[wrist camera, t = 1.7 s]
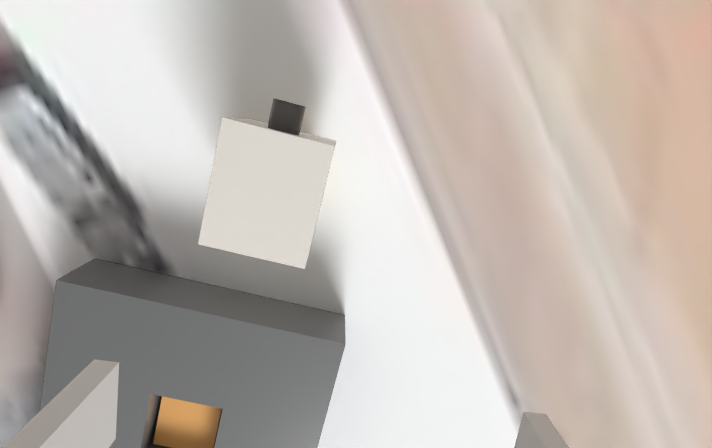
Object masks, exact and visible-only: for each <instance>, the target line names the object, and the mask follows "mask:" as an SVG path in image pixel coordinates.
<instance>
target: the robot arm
mask: <svg viewBox="0 0 712 448" xmlns="http://www.w3.org/2000/svg"><path fill="white" fill-rule="evenodd" d="M118 378H119V362H112V361H104V360H96V359H94V360H93V361H92V362H91V363H90V364H89V365H88V366H87V367H86V368H85V369H84V370H83V371H82V372H81V373H79V374H78V375H77V376H76V377H75V378H74V379H73V380H72V381H71V382H70V383H69V384H68V385H67V386H66V387H65V388H64V389H63V390H62V391H61V392H60V393H59V394H58V395H56V396H55V397H54V398H53V399H52V400H51V401H50V402H49V403H48V404H47V405H46V406H45V407H44V408H43V409H42V410H41V411H40V412H39V413H38V414H37V415H36V416H34V417H33V418H32V419H31V420H30V421H29V422H28V423H27V424H26V425H25V426H24V427H23V428H22V429H21V430H20V431H19V432H18V433H17V434H16V435H15V436H14V437H12V438H11V439H10V440H9V441H8V442H7V443H6V444H5V445H4V446H3V447H2V448H109V447H110V446H111V444H112V443H113V442H114V440H115V439H116V422H117V400H118ZM514 448H569V447H568V446H567V444H566V443H565V441H564V440H563V438H562V437H561V435H560V434H559V432H558V431H557V430H556V428H555V427H554V425H553V424H552V422H551V421H550V419H549V418H548V416H547V415H546V414H539V413H531V412H523V416H522V420H521V424H520V428H519V432H518V436H517V439H516V443H515V447H514Z"/></svg>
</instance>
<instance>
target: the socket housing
mask: <svg viewBox="0 0 712 448" xmlns="http://www.w3.org/2000/svg"><path fill="white" fill-rule="evenodd" d="M344 347H345V315H342V314H337V313H333V312H328V311H324V310H320V309H315V308H311V307H306V306H302V305H297V304H293V303H289V302H284V301H280V300H275V299H271V298H266V297H262V296H258V295H253V294H249V293H244V292H240V291H235V290H231V289H227V288H222V287H218V286H213V285H209V284H204V283H200V282H196V281H191V280H187V279H182V278H178V277H173V276H169V275H165V274H160V273H156V272H151V271H147V270H142V269H138V268H134V267H129V266H125V265H120V264H116V263H111V262H107V261H103V260H98V259H94V260H92V261H90V262H88V263H86V264H85V265H83V266H81V267H79V268H77V269H76V270H74V271H72V272H70V273H68V274H67V275H65V276H63V277H61V278H59V279H58V280H56V286H55V294H54V302H53V310H52V318H51V326H50V333H49V341H48V349H47V357H46V365H45V373H44V380H43V388H42V396H41V404H40V411H41V410H42V409H43V408H44V407H45V406H46V405H47V404H48V403H49V402H50V401H51V400H52V399H53V398H54V397H55V396H56V395H58V394H59V393H60V392H61V391H62V390H63V389H64V388H65V387H66V386H67V385H68V384H69V383H70V382H71V381H72V380H73V379H74V378H75V377H76V376H77V375H78V374H79V373H81V372H82V371H83V370H84V369H85V368H86V367H87V366H88V365H89V364H90V363H91V362H92V361H93V360H94V359H96V360H104V361H112V362H119V378H118V400H117V422H116V439H115V440H114V442H113V443H112V444H111V446H110V447H109V448H172V447H166V446H161V445H156V444H153V442H154V436H155V431H156V426H157V420H158V415H159V410H160V404H161V399H162V396H163V397H168V398H173V399H178V400H182V401H187V402H192V403H197V404H202V405H207V406H212V407H217V408H222V413H221V418H220V422H219V427H218V432H217V436H216V441H215V445H214V448H317V447H318V443H319V439H320V436H321V432H322V428H323V425H324V421H325V417H326V414H327V410H328V406H329V402H330V399H331V395H332V391H333V388H334V384H335V380H336V377H337V373H338V369H339V366H340V362H341V358H342V354H343V351H344Z"/></svg>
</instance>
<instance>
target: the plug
mask: <svg viewBox="0 0 712 448" xmlns="http://www.w3.org/2000/svg"><path fill="white" fill-rule="evenodd" d="M304 111H305V107H304V106H300V105H297V104H293V103H289V102H285V101H282V100H278V99H273V104H272V108H271V113H270V118H269V123H265V122H261V121H257V120H253V119H249V118H226V117H222V121H221V126H220V131H219V136H218V142H217V147H216V152H215V157H214V163H213V168H212V173H211V178H210V183H209V189H208V194H207V199H206V204H205V210H204V215H203V220H202V225H201V231H200V236H199V241H198V244H199V245H203V246H207V247H212V248H216V249H220V250H224V251H229V252H233V253H237V254H242V255H246V256H250V257H255V258H259V259H263V260H267V261H272V262H276V263H280V264H285V265H289V266H293V267H298V268H302V269H305V267H306V263H307V259H308V255H309V251H310V247H311V243H312V239H313V235H314V230H315V226H316V222H317V218H318V214H319V210H320V206H321V202H322V197H323V193H324V189H325V185H326V181H327V177H328V173H329V169H330V164H331V160H332V156H333V152H334V148H335V144H336V141H335V140H331V139H327V138H323V137H319V136H315V135H312V134H308V133H304V132H300V129H301V125H302V120H303V116H304Z"/></svg>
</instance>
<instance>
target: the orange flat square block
mask: <svg viewBox="0 0 712 448" xmlns="http://www.w3.org/2000/svg"><path fill="white" fill-rule="evenodd" d="M221 413H222V408H217V407H212V406H207V405H202V404H197V403H192V402H187V401H182V400H178V399H173V398H168V397H163V396H162V399H161V404H160V410H159V415H158V420H157V426H156V431H155V436H154V442H153V444H156V445H161V446H166V447H172V448H214V445H215V441H216V436H217V432H218V427H219V422H220V418H221Z"/></svg>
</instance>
